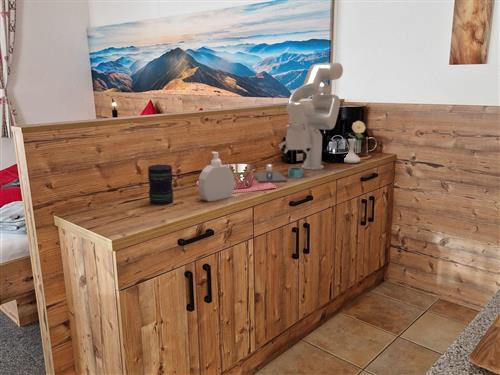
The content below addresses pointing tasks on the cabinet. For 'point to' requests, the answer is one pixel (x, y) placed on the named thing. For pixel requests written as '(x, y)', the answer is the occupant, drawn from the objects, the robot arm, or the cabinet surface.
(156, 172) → the storage jar
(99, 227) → the cabinet surface
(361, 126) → the flower in vase
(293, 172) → the ring
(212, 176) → the soap bottle
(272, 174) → the metal plate with knob
